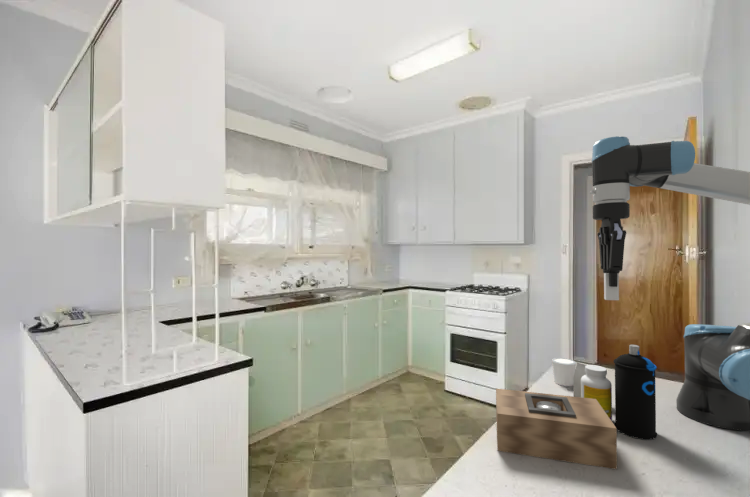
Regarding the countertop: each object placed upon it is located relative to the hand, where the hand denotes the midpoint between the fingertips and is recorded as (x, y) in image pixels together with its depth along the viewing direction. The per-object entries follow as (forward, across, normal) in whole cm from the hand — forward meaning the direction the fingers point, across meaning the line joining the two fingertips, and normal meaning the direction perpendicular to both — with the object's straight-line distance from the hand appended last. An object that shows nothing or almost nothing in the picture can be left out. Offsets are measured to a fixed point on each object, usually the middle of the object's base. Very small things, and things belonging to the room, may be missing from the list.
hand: (611, 299), depth 87 cm
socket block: (+30, +13, -16) cm, 37 cm away
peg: (+30, +13, -16) cm, 37 cm away
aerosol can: (+31, +2, +4) cm, 31 cm away
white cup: (+31, -26, -6) cm, 41 cm away
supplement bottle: (+31, -2, -3) cm, 31 cm away
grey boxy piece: (+31, -13, -2) cm, 33 cm away
